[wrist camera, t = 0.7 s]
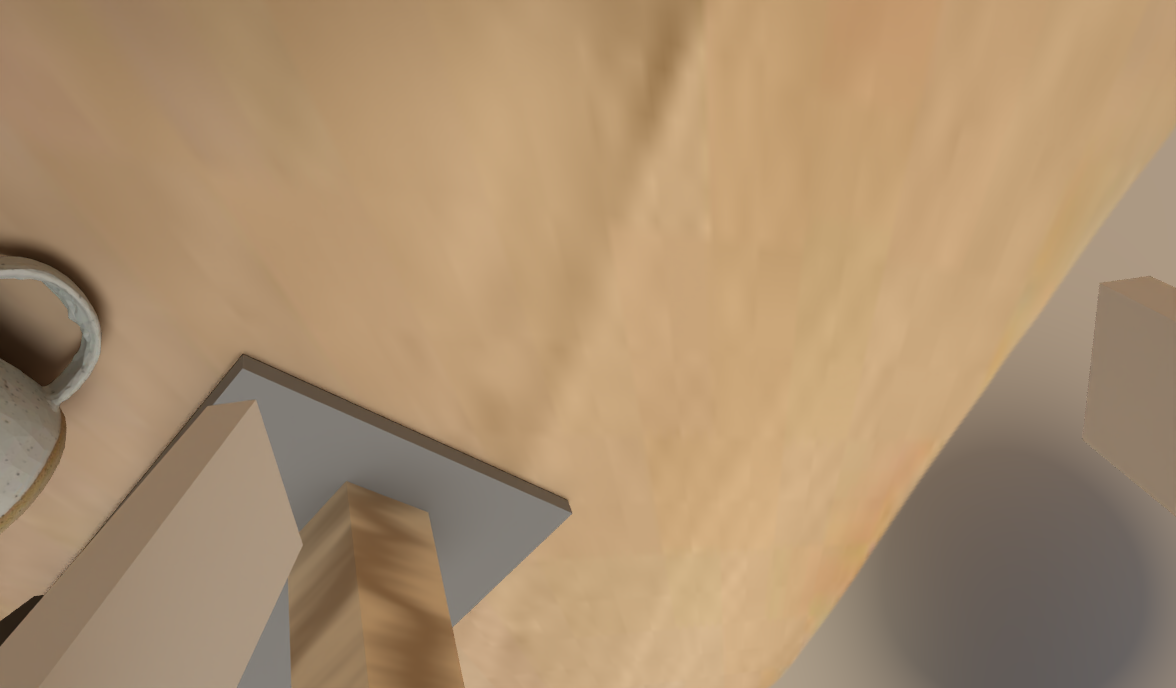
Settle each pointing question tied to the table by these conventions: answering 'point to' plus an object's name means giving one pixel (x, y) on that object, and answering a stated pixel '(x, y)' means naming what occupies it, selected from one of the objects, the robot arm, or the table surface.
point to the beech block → (369, 599)
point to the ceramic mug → (39, 398)
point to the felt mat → (383, 492)
